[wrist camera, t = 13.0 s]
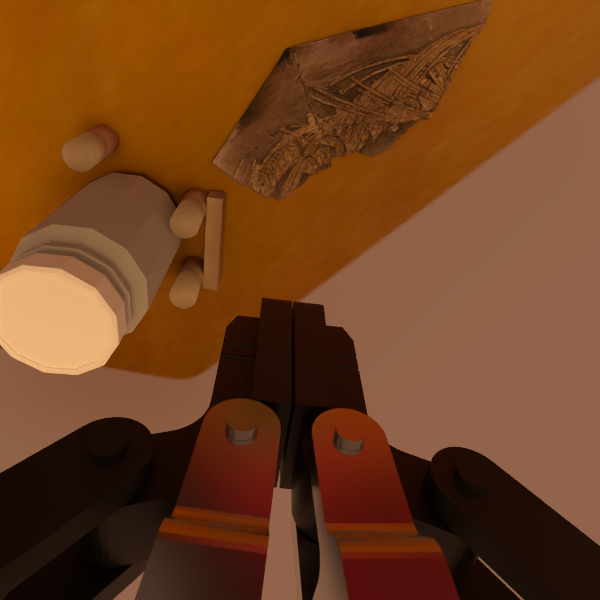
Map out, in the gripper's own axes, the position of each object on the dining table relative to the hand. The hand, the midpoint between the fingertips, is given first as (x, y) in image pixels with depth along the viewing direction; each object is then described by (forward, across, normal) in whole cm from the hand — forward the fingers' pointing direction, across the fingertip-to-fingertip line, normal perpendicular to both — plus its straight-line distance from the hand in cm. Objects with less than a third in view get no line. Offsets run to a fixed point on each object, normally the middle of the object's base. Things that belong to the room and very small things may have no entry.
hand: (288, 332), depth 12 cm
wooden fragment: (+34, +4, +2) cm, 34 cm away
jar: (+33, -14, -12) cm, 38 cm away
